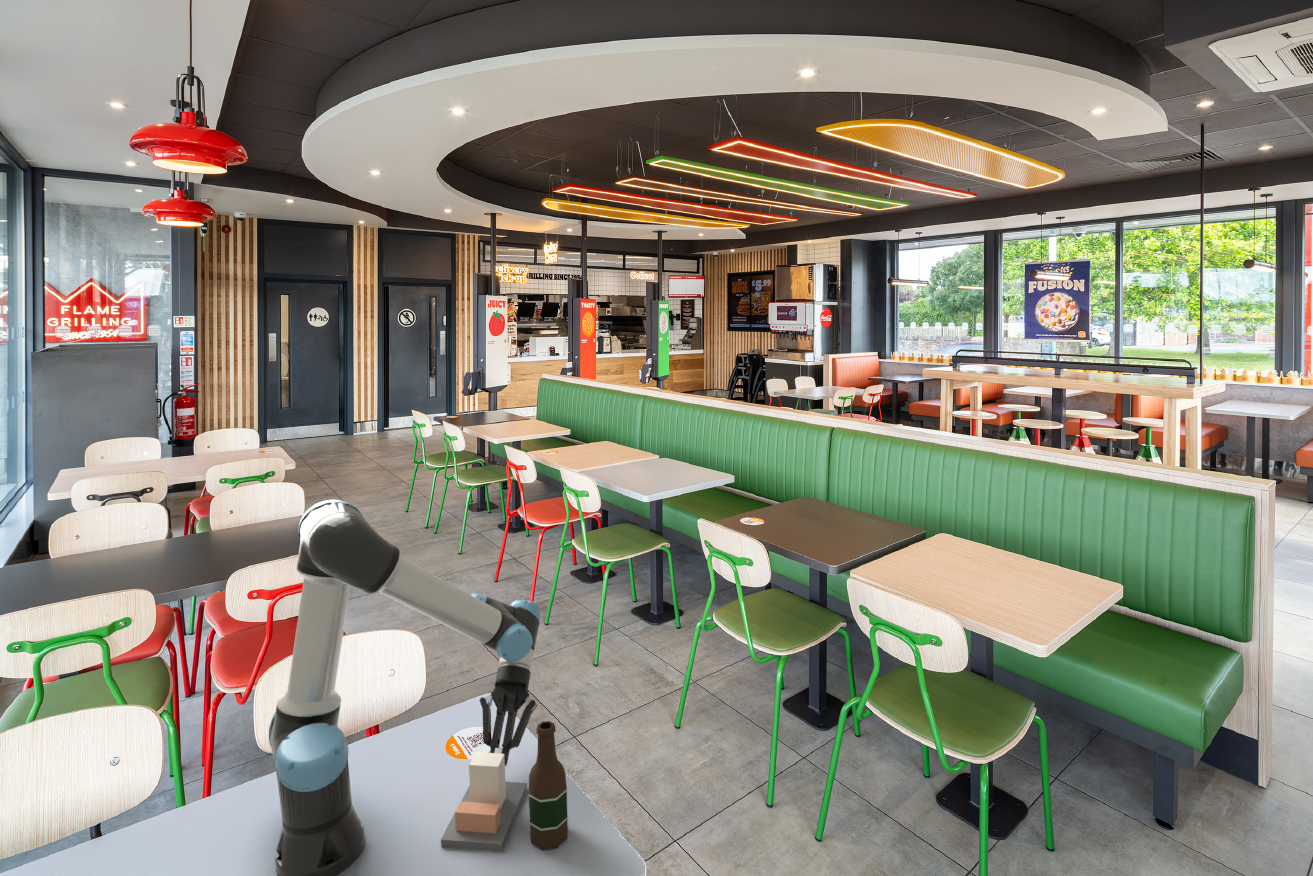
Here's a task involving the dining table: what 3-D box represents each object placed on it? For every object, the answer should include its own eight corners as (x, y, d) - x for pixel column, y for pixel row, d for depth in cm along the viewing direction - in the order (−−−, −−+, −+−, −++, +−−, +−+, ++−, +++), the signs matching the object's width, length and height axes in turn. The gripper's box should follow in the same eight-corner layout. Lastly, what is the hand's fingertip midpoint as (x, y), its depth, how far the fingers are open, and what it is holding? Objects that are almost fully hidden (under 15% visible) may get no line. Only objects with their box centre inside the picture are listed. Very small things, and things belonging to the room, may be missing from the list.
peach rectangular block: (455, 830, 130) (454, 812, 129) (461, 819, 133) (460, 801, 132) (495, 833, 129) (495, 815, 128) (500, 822, 132) (500, 804, 131)
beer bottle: (561, 854, 126) (558, 740, 122) (522, 848, 127) (518, 735, 123) (574, 824, 133) (572, 716, 129) (537, 818, 135) (534, 711, 131)
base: (441, 846, 128) (440, 839, 127) (473, 785, 144) (472, 779, 144) (502, 851, 127) (501, 844, 126) (527, 789, 143) (526, 783, 143)
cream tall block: (471, 809, 135) (468, 765, 133) (478, 795, 139) (475, 752, 137) (499, 811, 134) (498, 766, 133) (506, 797, 138) (504, 754, 137)
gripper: (545, 674, 155) (528, 787, 142) (491, 671, 157) (469, 783, 143) (539, 665, 149) (520, 782, 136) (482, 662, 150) (458, 778, 137)
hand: (494, 782), depth 140 cm, fingers closed
